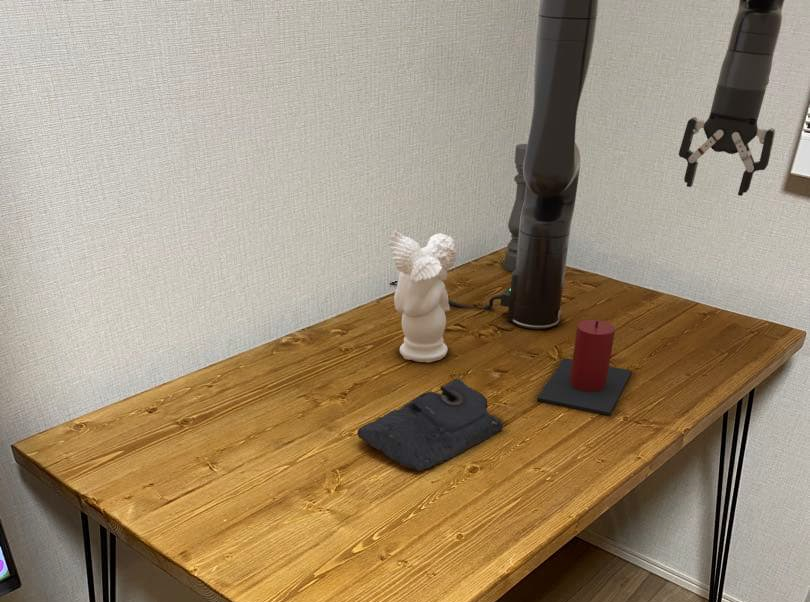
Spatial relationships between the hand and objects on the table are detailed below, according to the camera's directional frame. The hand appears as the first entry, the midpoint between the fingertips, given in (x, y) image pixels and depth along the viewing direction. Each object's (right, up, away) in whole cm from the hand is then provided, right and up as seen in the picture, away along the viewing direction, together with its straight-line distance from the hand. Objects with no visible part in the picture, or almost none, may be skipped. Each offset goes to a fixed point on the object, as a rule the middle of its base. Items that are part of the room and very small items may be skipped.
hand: (714, 190), depth 150 cm
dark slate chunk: (-49, -43, -15) cm, 67 cm away
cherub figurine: (-49, -27, +7) cm, 57 cm away
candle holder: (-27, +1, +46) cm, 54 cm away
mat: (-22, -34, -1) cm, 40 cm away
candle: (-22, -33, -2) cm, 40 cm away
